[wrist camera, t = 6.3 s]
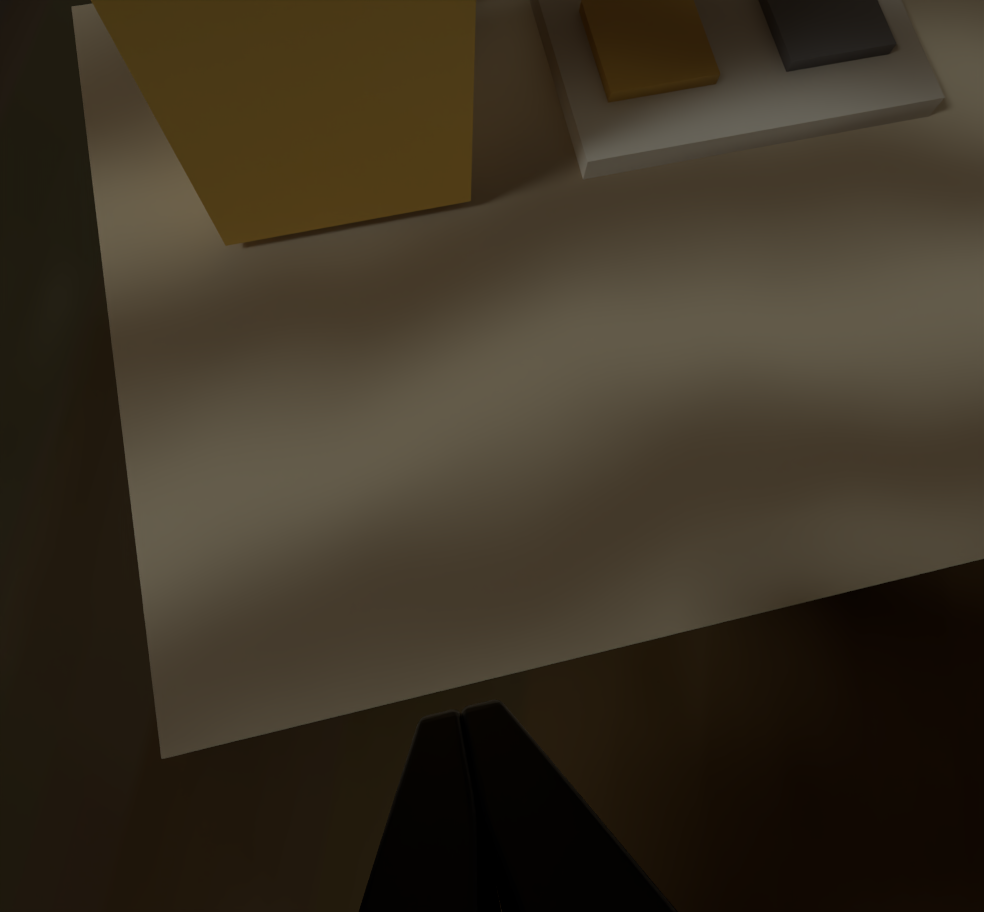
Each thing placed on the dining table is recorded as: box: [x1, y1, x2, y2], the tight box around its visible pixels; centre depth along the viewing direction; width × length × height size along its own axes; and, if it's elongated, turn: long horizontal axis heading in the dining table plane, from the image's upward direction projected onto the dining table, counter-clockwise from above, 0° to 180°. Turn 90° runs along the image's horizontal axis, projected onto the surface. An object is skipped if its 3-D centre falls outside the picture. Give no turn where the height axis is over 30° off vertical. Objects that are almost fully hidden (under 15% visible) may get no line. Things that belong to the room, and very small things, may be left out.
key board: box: [72, 0, 984, 759], centre depth 16 cm, size 16×28×4 cm, turn 103°
